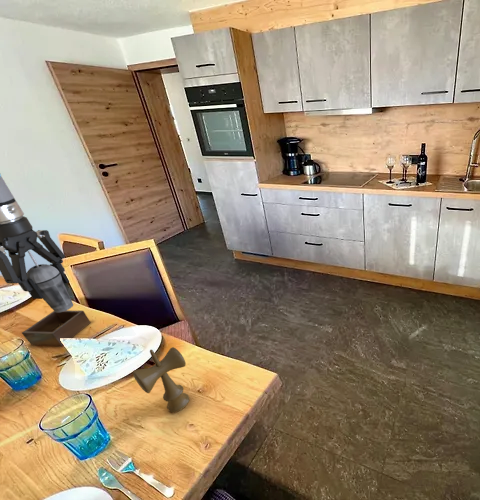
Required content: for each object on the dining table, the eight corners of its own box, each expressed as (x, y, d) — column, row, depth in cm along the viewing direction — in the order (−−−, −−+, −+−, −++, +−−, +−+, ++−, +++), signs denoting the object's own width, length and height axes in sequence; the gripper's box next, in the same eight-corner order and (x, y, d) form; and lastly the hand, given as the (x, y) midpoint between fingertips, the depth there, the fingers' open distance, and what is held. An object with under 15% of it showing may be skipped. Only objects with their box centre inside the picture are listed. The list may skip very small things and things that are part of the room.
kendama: (154, 413, 73) (121, 358, 64) (191, 384, 80) (166, 331, 71) (165, 426, 70) (132, 370, 61) (202, 396, 77) (178, 341, 67)
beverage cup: (46, 319, 87) (6, 262, 77) (50, 306, 92) (13, 252, 82) (77, 309, 90) (42, 253, 81) (79, 297, 96) (47, 244, 86)
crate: (31, 345, 96) (21, 332, 94) (62, 322, 106) (54, 310, 103) (61, 346, 95) (52, 333, 93) (90, 322, 105) (83, 310, 102)
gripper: (-28, 236, 68) (28, 312, 79) (55, 206, 85) (91, 271, 96) (-56, 236, 68) (3, 311, 79) (32, 207, 86) (71, 271, 97)
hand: (52, 289), depth 88 cm, fingers closed on beverage cup, 7 cm apart
